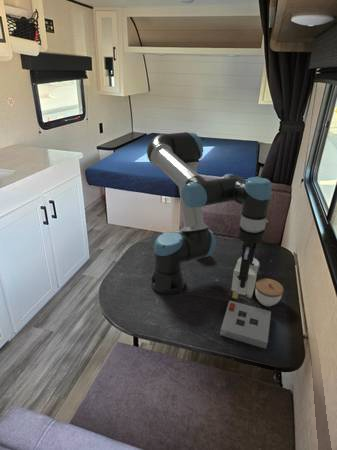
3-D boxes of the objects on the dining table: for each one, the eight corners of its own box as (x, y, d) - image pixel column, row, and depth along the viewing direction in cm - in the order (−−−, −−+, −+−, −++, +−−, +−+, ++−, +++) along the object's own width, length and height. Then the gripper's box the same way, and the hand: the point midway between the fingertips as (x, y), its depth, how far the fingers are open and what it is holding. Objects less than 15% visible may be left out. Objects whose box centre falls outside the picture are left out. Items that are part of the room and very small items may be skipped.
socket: (219, 334, 107) (221, 327, 105) (228, 306, 120) (229, 298, 118) (266, 349, 102) (268, 341, 100) (269, 317, 115) (271, 309, 113)
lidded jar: (259, 289, 130) (263, 271, 126) (283, 300, 124) (288, 282, 120) (248, 302, 122) (252, 283, 118) (273, 314, 116) (278, 295, 112)
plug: (230, 296, 103) (233, 270, 98) (234, 286, 108) (237, 261, 103) (251, 302, 100) (255, 275, 95) (253, 291, 105) (258, 266, 101)
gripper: (260, 243, 83) (249, 308, 93) (268, 218, 99) (258, 275, 109) (233, 238, 86) (226, 301, 96) (245, 214, 102) (238, 270, 112)
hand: (243, 287), depth 103 cm, fingers closed on plug, 6 cm apart
